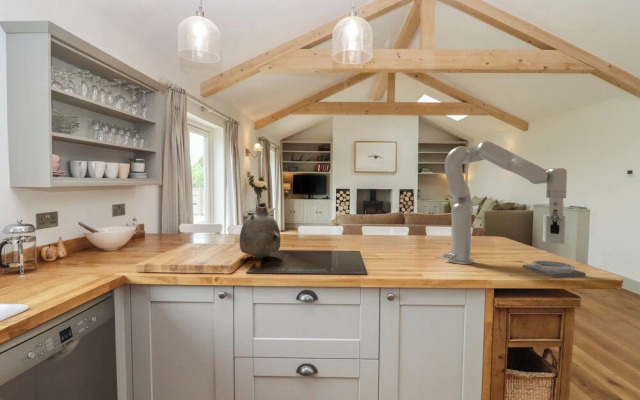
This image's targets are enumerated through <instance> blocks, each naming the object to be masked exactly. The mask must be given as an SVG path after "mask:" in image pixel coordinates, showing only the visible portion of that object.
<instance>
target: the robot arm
mask: <svg viewBox="0 0 640 400" xmlns="http://www.w3.org/2000/svg"><path fill="white" fill-rule="evenodd" d="M485 160H486V161H487V162H489V163H491V164H493V165H495V166H496V167H499V168H501V169H503V170H505V171H508V172H510V173H514V174H516V175H517V176H519V177H522V178H524V179H525V180H527V181H528V182H530V184H533V185H541V184H546V189H545V190H546V193H545V197H546V198H545V199H549V201H548V204H549V205H548V212H549V213H548V215H550V219H551V230H550V233H552V234H559V219H561V220H562V219H563V216H564V199H567V179H568V178H567V174H568V172H567V169H566V168H565V167H564V168H563V167H554V168H553V167H552V168H549V169H547V168H546V169H545V168H543V167H541V166H539V165H538V164H536V163H533V162H532V161H529V160H527V159H525V158H523V157H521V156H520V155H517V154H515V153H514V152H512V151H509V150H507V149H505V148H503V147H502V146H500V145H497V144H496V143H494V142H492V141H489V140H485V141H482V142H480V143H478V144H477V145H472V146H468V147H466V146H463V145H462V146H460V145H459V146H456V147H454V148H453V149H451V150H450V152H449V153H448V154H447V155H446V158H445V161H444V171H445V177H446V183H447V190H448V193H449V196H450V197H451V200H452V204H453V206H452V207H451V214H450V215H451V217H450V218H451V240H450V241H451V242H450V243H451V244H450V247H451V248H450V251H449V253H447V254H446V253H445V254H443V253H442V255H441V257H442V259H446V258H447V261H448V262H450V263H451V264H452V263H453V264H459V265H471V264H474V262H475V261H474V259H472V258H471V257H472V256H471V254H472V252H471V251H472V214H473V212H474V206H473V201H472V197H471V192H470V187H469V185H468V184H467V183H466V180H465V177H464V171H463V170H464V169H463V165H464V164H470V163H475V162H480V161H485ZM551 216H553V217H552V218H551ZM557 216H558V218H557Z"/></svg>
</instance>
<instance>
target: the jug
mask: <svg viewBox="0 0 640 400" xmlns="http://www.w3.org/2000/svg"><path fill="white" fill-rule="evenodd" d="M280 231H281V230H280V228H279V225H278V223H277V221H276V219H275V218H274V217H273V216H271V215H269V213H268V207H267V203H266V202H262V203H258V204H257V210H256V213H254V214H251V215H249V216H248V217H247V218H246V219H245V220H244V222H243V223H242V226H241V230H240V235H239V249H240V251H241V253H244V254H247V255H250V256H254V257H255V258H257V259H263V258H265V257H267V256H269V255H271V254H275V253H276V252H278V251H279V250H280V247H281V232H280Z"/></svg>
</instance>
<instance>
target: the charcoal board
mask: <svg viewBox="0 0 640 400" xmlns="http://www.w3.org/2000/svg"><path fill="white" fill-rule="evenodd" d="M542 266H547V267H554V268H564V267H559V266H551V265H542ZM522 269H525V270H528V271H531V272H534V273H538V274H540V275H543V276H546V277H549V278H569V277H571V278H573V277H574V276H576V277H586V272H584V271H580V270H577V269H575V272H573V273H555V272H547V271H543V270H539V269H536V268H534V267H532V263H531V264H522Z"/></svg>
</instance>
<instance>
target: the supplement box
mask: <svg viewBox="0 0 640 400" xmlns="http://www.w3.org/2000/svg"><path fill="white" fill-rule="evenodd" d="M542 217H543V222H542V241H543V242H544V243H547V244H560V245H564V244H565V234H566V216H564V215H563V219H562V220H561V219H559V234H552V233H550V230H551V219H550V215H549V214H543V216H542ZM552 217H553V216H551V218H552ZM557 218H558V216H557Z"/></svg>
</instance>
